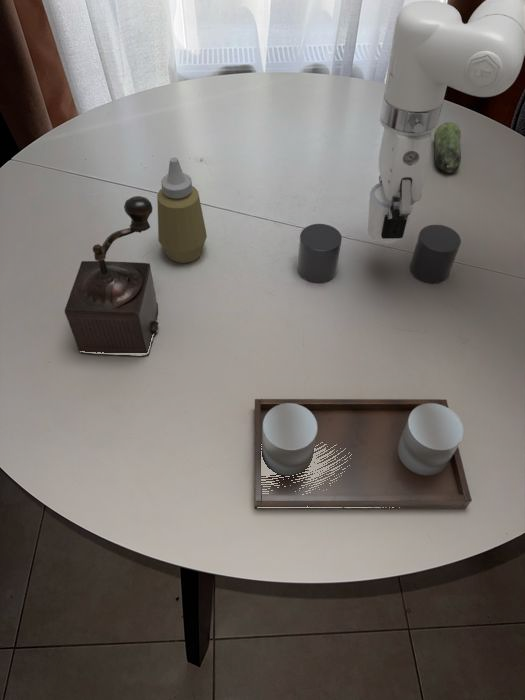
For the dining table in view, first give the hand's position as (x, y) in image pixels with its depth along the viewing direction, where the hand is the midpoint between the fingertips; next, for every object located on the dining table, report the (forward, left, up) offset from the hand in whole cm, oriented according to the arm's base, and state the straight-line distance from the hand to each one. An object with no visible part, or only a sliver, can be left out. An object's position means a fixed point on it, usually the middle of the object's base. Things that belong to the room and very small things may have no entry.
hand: (388, 220), depth 89 cm
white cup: (0, 0, -2) cm, 2 cm away
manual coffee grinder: (+41, +11, -11) cm, 43 cm away
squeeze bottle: (+33, -4, -11) cm, 34 cm away
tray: (+8, +35, -11) cm, 37 cm away
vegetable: (-18, -33, -11) cm, 39 cm away
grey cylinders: (+1, 0, -11) cm, 11 cm away
